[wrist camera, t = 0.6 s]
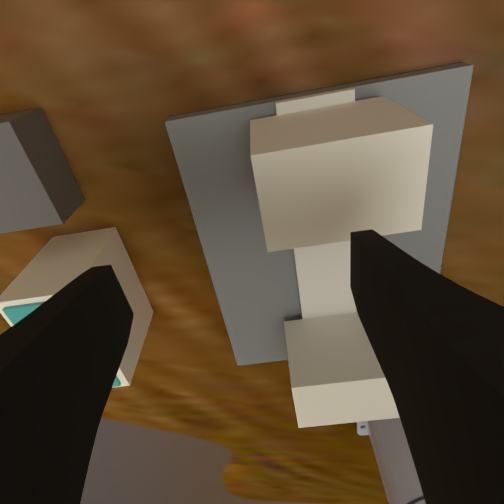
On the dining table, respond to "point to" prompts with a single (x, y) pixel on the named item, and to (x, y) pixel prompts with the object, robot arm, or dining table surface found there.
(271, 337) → the board
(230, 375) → the dining table surface
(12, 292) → the block
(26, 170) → the block
